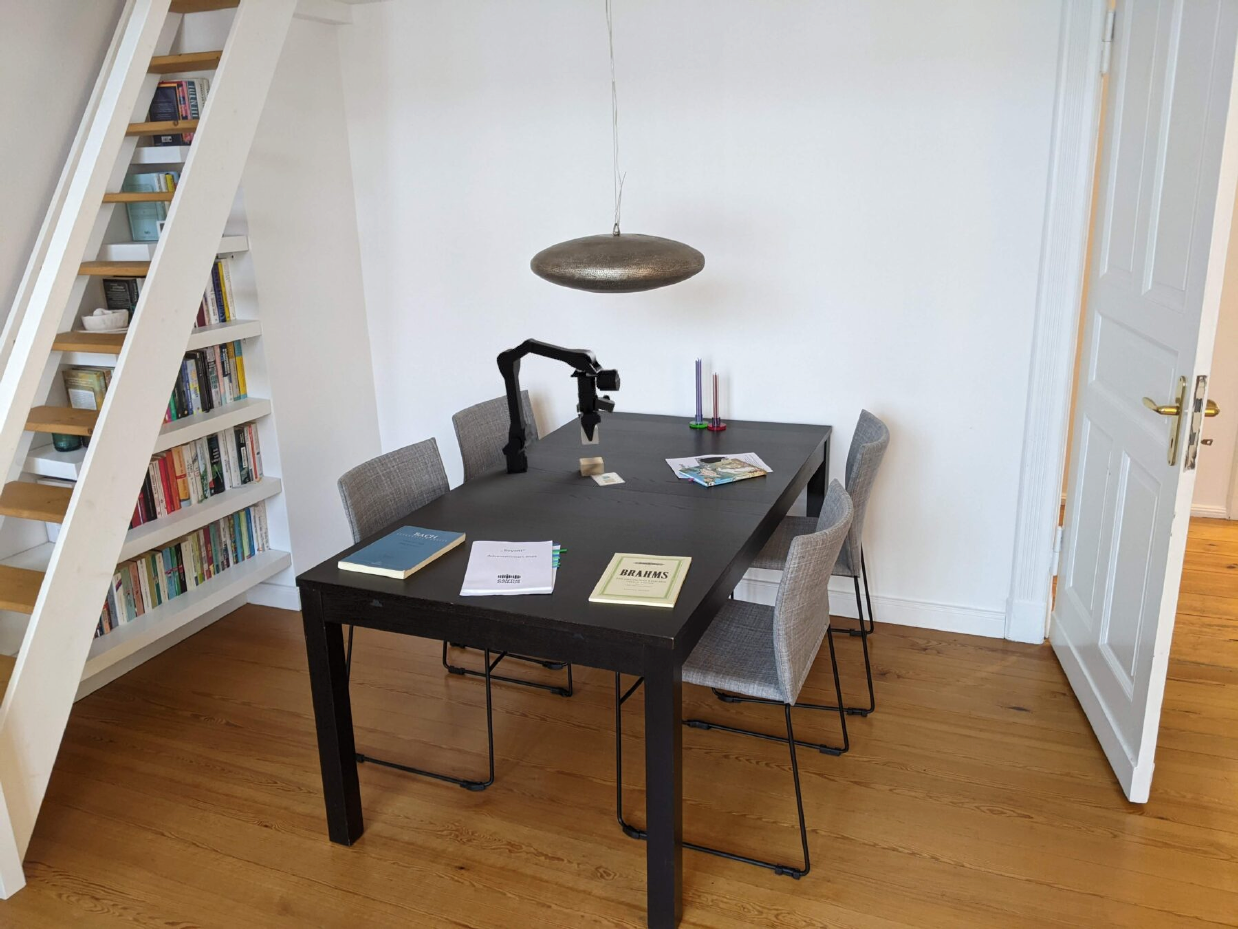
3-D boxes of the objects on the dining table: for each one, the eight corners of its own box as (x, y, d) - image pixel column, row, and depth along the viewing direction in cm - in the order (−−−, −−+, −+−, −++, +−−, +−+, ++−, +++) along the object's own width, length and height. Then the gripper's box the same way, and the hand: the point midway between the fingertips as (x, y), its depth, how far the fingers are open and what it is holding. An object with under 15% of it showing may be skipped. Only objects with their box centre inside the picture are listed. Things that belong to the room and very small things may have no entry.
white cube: (582, 444, 299) (581, 429, 297) (581, 440, 303) (580, 425, 302) (598, 443, 299) (597, 428, 298) (597, 439, 304) (596, 424, 302)
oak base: (582, 476, 301) (581, 464, 300) (580, 470, 307) (579, 458, 306) (604, 475, 301) (603, 463, 300) (601, 468, 308) (601, 457, 307)
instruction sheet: (600, 485, 290) (600, 485, 290) (590, 476, 300) (590, 475, 300) (625, 482, 292) (625, 481, 292) (614, 472, 302) (614, 472, 302)
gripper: (616, 395, 288) (618, 444, 293) (609, 383, 306) (611, 429, 311) (579, 397, 287) (582, 447, 292) (575, 385, 305) (577, 432, 309)
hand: (589, 438), depth 301 cm, fingers closed on white cube, 5 cm apart
